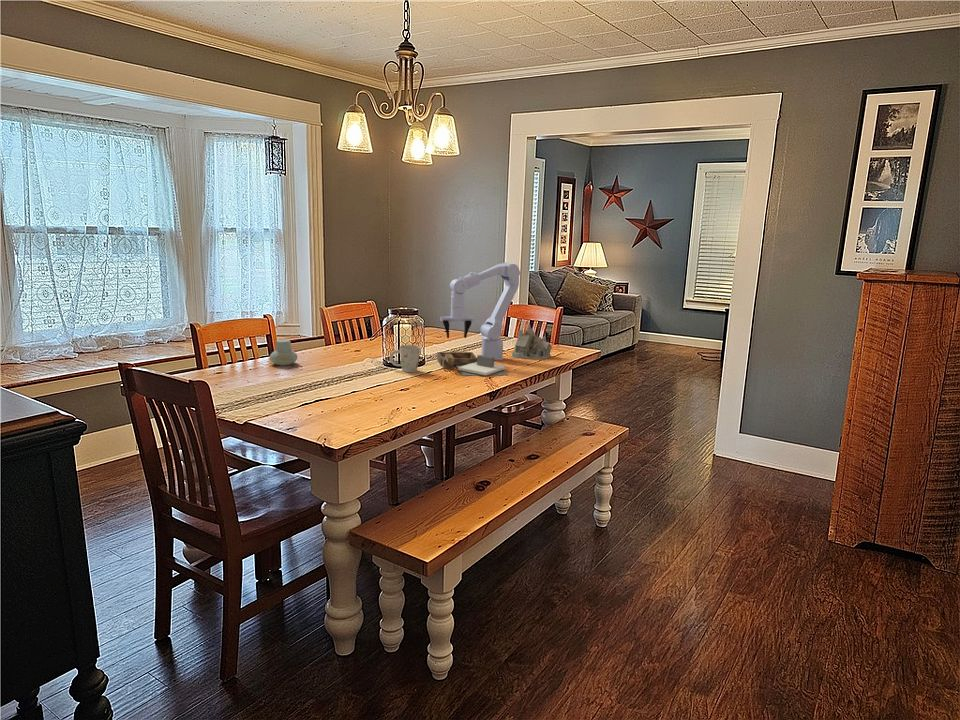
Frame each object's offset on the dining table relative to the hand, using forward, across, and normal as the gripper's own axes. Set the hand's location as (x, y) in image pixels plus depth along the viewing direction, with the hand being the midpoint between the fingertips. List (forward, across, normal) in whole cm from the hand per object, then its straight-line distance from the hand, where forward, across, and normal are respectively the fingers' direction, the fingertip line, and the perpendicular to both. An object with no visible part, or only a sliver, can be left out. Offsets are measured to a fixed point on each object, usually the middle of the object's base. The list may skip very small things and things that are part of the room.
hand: (456, 337), depth 281 cm
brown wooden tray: (+10, 0, +6) cm, 12 cm away
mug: (+11, +24, +18) cm, 32 cm away
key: (+6, +6, +18) cm, 20 cm away
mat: (+10, -8, +19) cm, 23 cm away
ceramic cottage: (+11, -37, -8) cm, 39 cm away
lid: (+10, -8, +20) cm, 24 cm away
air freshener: (+11, +73, +5) cm, 74 cm away
